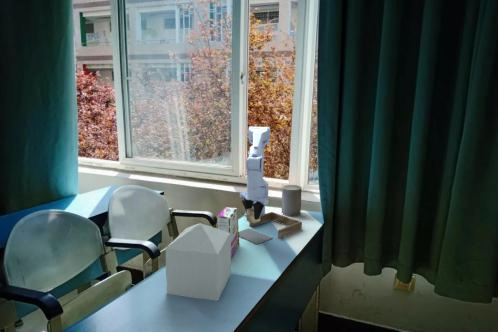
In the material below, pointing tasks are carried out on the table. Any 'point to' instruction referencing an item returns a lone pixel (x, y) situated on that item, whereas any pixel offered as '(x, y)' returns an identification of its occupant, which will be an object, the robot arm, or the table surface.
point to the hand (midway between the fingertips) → (253, 217)
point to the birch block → (251, 216)
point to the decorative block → (199, 262)
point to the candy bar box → (229, 225)
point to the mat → (253, 236)
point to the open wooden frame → (292, 223)
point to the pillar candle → (291, 200)
